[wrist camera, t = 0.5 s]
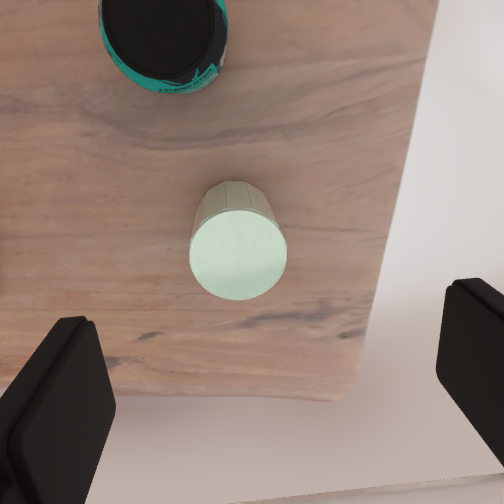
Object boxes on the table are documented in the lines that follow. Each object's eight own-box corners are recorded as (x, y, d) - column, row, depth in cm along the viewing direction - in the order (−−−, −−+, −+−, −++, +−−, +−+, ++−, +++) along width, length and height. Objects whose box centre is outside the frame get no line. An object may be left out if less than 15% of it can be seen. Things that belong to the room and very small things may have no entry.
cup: (221, 166, 35) (221, 191, 26) (286, 205, 36) (306, 241, 28) (183, 230, 37) (171, 273, 28) (246, 264, 38) (253, 315, 30)
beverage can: (175, -30, 29) (145, -107, 18) (244, 43, 31) (256, 15, 20) (118, 47, 30) (59, 21, 19) (187, 112, 33) (169, 121, 22)
